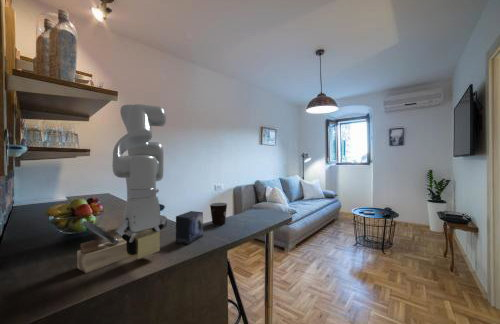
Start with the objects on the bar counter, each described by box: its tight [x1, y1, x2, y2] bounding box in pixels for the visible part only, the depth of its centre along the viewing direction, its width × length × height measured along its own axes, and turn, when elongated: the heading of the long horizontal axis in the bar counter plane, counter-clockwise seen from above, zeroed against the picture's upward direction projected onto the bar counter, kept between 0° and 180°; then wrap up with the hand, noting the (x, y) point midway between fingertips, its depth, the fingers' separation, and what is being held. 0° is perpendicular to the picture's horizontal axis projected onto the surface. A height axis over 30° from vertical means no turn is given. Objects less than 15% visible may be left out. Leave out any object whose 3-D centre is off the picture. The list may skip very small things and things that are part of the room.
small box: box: [175, 210, 204, 245], centre depth 87 cm, size 11×6×10 cm, turn 161°
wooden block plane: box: [76, 229, 150, 274], centre depth 72 cm, size 6×22×8 cm, turn 148°
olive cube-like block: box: [127, 230, 161, 260], centre depth 68 cm, size 7×6×6 cm
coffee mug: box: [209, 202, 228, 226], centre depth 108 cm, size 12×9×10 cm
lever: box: [81, 220, 119, 244], centre depth 67 cm, size 5×1×11 cm
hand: (143, 249), depth 68 cm, fingers closed on olive cube-like block, 7 cm apart
